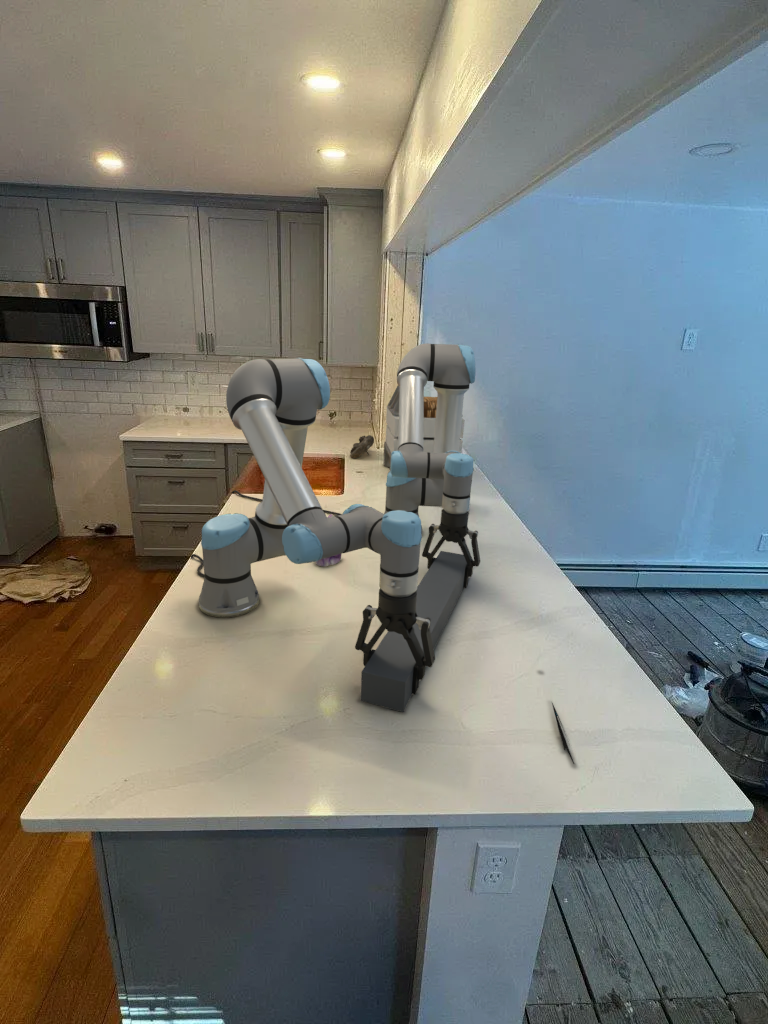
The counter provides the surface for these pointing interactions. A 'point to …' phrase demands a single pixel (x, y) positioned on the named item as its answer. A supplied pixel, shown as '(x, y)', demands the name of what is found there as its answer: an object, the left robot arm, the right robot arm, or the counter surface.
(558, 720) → the feather
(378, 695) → the thick board
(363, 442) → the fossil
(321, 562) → the figurine
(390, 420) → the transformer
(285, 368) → the left robot arm
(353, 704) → the counter surface
